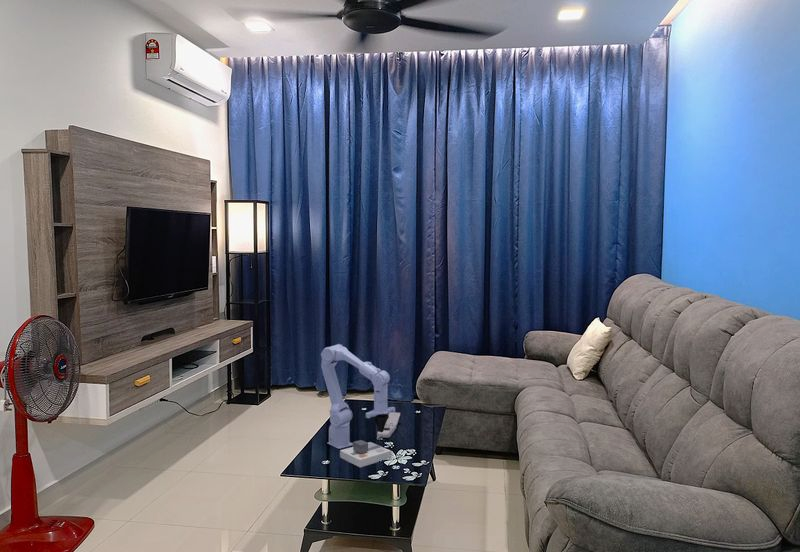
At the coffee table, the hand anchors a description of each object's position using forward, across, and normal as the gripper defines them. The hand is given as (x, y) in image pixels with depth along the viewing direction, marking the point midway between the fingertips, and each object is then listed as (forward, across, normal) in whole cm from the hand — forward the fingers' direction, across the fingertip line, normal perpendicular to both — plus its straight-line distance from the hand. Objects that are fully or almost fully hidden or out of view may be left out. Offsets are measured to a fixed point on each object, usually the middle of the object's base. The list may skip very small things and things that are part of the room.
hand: (380, 431), depth 246 cm
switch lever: (+5, -11, -1) cm, 13 cm away
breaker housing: (+9, -9, -1) cm, 13 cm away
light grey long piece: (+10, +20, +19) cm, 29 cm away
